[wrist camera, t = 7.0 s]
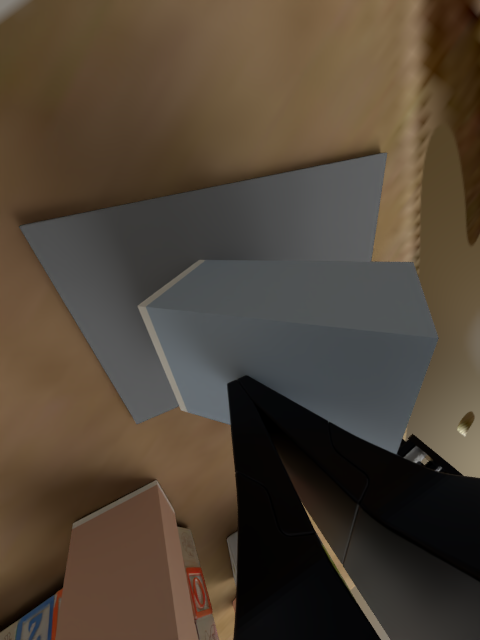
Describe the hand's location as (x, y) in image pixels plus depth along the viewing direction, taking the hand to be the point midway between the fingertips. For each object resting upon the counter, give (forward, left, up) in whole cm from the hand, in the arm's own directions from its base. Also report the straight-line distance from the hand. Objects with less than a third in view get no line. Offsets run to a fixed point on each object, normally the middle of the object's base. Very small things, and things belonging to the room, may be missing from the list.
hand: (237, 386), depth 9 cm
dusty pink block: (+9, +15, -6) cm, 19 cm away
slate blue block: (+1, 0, -4) cm, 4 cm away
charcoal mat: (-4, 0, -6) cm, 7 cm away
